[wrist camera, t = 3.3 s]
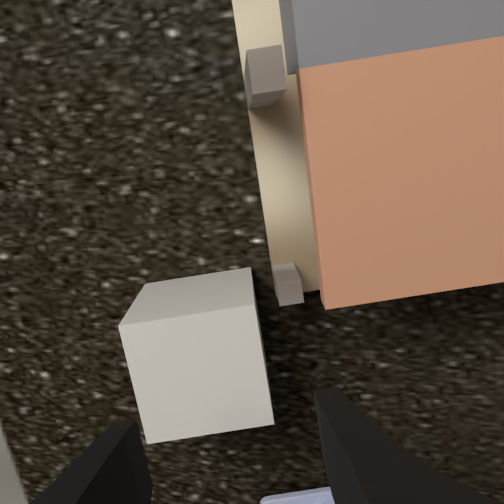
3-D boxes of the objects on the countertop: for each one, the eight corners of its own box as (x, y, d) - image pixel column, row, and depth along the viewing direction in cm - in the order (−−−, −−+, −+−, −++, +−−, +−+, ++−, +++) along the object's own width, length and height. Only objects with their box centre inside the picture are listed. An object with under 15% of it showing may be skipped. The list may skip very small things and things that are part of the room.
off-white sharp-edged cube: (266, 362, 22) (274, 424, 17) (166, 377, 22) (147, 444, 17) (250, 266, 21) (255, 304, 16) (145, 283, 21) (118, 326, 16)
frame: (590, 244, 21) (740, 288, 15) (275, 293, 21) (291, 357, 15) (601, -126, 17) (805, -277, 11) (222, -64, 18) (213, -178, 11)
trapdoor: (597, 233, 19) (663, 257, 16) (311, 278, 19) (325, 309, 16) (634, -148, 14) (732, -210, 12) (268, -88, 15) (277, -135, 12)
